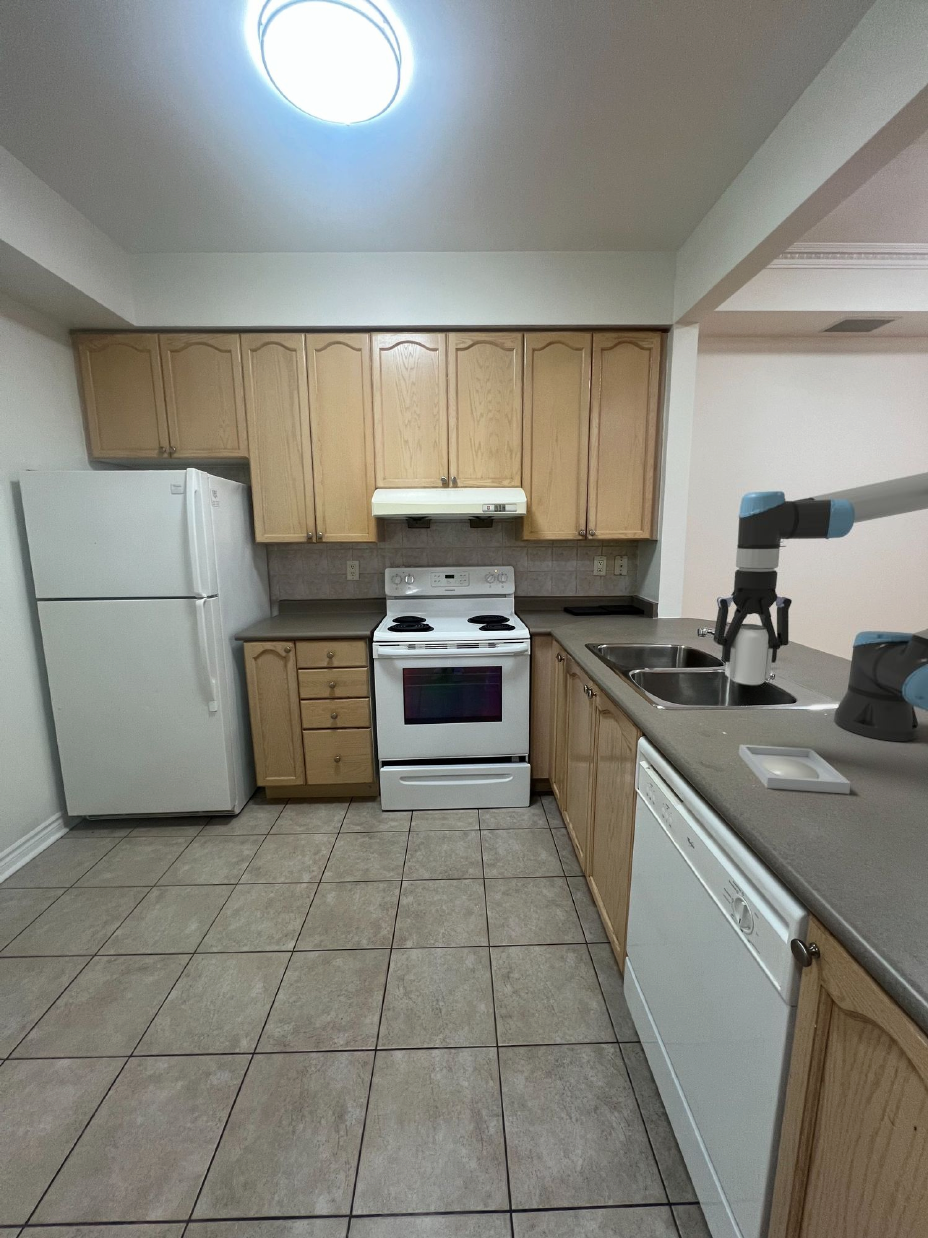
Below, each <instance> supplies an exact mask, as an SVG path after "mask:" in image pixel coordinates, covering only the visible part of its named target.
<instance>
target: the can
mask: <svg viewBox="0 0 928 1238" xmlns="http://www.w3.org/2000/svg"><path fill="white" fill-rule="evenodd" d="M766 629H767V627H764V626H763V625H762V624H757V623H755V624H754V623H742V625H741V627H740V630H739V632H738V634H737V636H736V638H735V640H734V643H733V645H732V647H734V648H735V649H736V651H735V664H734V676H733V678H730V680H731V681H732V682H734V683H736V684H740V685H745V686H760V685H762V684H763V683H764V682H765V680H766V679H765V670H766V659H767V648H768V633H767V630H766Z"/></svg>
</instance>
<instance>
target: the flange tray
mask: <svg viewBox="0 0 928 1238" xmlns="http://www.w3.org/2000/svg"><path fill="white" fill-rule="evenodd" d="M738 755H739V756H740V757H741V759H742V760H743V761H744V762H745V764H746V765H747V766H748V767H749V768H750V769H751V771H752V772H753V773H754V775H756V777H757V778H758V779H759V781H760V782H761V783H762V785H764V787H765V788H766V789H775V790H789V791H791V790H792V791H805V792H818V793H820V792H821V793H834V794H835V793H836V794H848V795H849V794H850V793H851V792H850V791H851V784H852V783H851V781H849V780H848V779H847V778H846V777H845V776H843V775H842V774H841V773H840V772H839V771H838V770H836V769H835V768H834V767H833V766H832V765H831V764H829V763H828V762H827V761H826V760H825V759H824V758H822V756H820V755H819V754H818V753H817V752H816V751H815V750H814V749H812V748H805V747H804V748H803V747H788V746H785V747H784V746H771V745H767V746H766V745H752V744H739V749H738Z"/></svg>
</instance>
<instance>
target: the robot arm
mask: <svg viewBox="0 0 928 1238" xmlns="http://www.w3.org/2000/svg"><path fill="white" fill-rule="evenodd" d="M785 497H786V496H785V492H783V491H781V490H776V491H775V490H773V491H771V490H770V491H756V492H755V491H754V492H747V493H745V494H744V495H743V496H742V497H741V499H740V500H741V501H740V504H739V505H740V507H739V513H738V530H737V531H738V532H737V534H738V535H737V545H736V546H737V547H736V559H735V560H736V561H735V567H736V568H738V569H736V571H735V572H734V581H733V583H734V584H733V591H732V593H731V595H729V596H725V597H721V596H720V597H718V598H717V599H716V603H717V607H718V609H717V616H716V623H715V628H714V633H713V638H712V639H713V642H714V643H716V644H717V645H718V646H722V652H721V659H722V661H723V662H724V663H725V670H724V674H725V676H727V677H728V678H729V679H731V678H733V676H734V664H735V651H736V649H735V648H734V647H732V645H733V643H734V640H735V638H736V636H737V634H738V632H739V630H740V627H741V625H742V624H744V620H746V619H747V617H748V615H753V614H756V615H758V617H759V619H760V623H761V625H763V626H764V627H767V629H766V630H767V633H768V648H767V659H766V670H765V680H770V679H771V673H772V672H771V671H772V664H773V663H775V664H776V662H777V655H778V650H780V648H781V647H783V646H785V647H786V646H787V645H789V640H790V639H789V629H790V627H789V619H790V618H789V614H790V613H789V610H790V607H791V605H792V601H793V600H792V598H788V597H785V596H778V594H777V592H776V589H777V583H778V582H777V581H778V572H777V570H776V569H777V568H778V567H779V563H780V562H779V559H780V550H781V549H780V547H781V540H797V539H798V540H809V539H810V540H814V539H818V540H819V539H823V540H824V539H826V540H829V539H838V538H839V539H840V538H843V537H845V536H847V535H848V534H849V533H850V532H851V530H852V529H853V526H854V524H857V523H861V522H865V521H866V522H867V521H871V520H872V521H873V520H877V519H881V518H882V519H883V518H887V517H892V516H896V515H901V514H907V513H911V512H918V511H922V510H927V509H928V471H927V472H926V471H925V472H921V473H917V474H914V475H907V476H904V477H903V476H902V477H899V478H894V479H888V480H885V481H880V482H875V483H871V484H865V485H862V486H856V487H852V488H847V489H843V490H838V491H834V492H829V493H823V494H819V495H814V496H810V497H805V498H801V499H795V500H786V498H785ZM732 603H733V604H734V605H735V606H736V608H735V610H734V613H733V616H732V619H731V621H730V624H729V626H728V628H727V622H728V617H729V608H730V607H731V605H732ZM774 604H775V606H776V631H775V628H774V627H775V626H774V624H773V621H772V614H771V613H772V612H771V610H770V608H771V607H772V606H773V605H774ZM726 628H727V630H726ZM852 648H853V649H852V654H851V655H852V656H851V663H850V670H849V676H848V684H847V691H846V693H845V694H844V696H843V698H842V699H841V701H840V703H839V705H838V706H837V707H836V709H835V711H834V716H833V717H834V718H833V722H834V723H835V725H837V726H839V727H840V728H842V729H843V730H846V731H848V732H851V733H853V734H856V735H860V736H863V737H867V738H872V739H876V740H877V739H878V740H881V741H882V740H883V741H889V742H891V741H892V742H910V741H909V740H911V741H914V740H916V739H917V738H918V737H917V736H919V730H920V725H919V722H918V717H917V715H916V711H915V708H918V709H921V710H924V711H927V712H928V628H925V629H924V630H920V631H917V632H914V633H913V632H900V631H881V630H880V631H879V630H878V631H877V630H873V631H870V630H869V631H867V630H866V631H861V632H858V633H857V634H856V635H855V638H854V642H853V644H852ZM915 738H916V739H915ZM913 739H914V740H913Z"/></svg>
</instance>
